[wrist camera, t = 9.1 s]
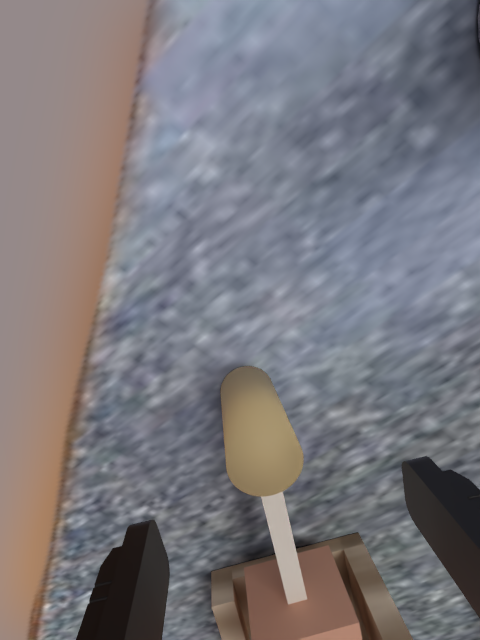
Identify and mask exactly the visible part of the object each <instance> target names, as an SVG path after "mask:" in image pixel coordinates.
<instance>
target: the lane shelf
mask: <svg viewBox="0 0 480 640" xmlns="http://www.w3.org/2000/svg"><path fill="white" fill-rule="evenodd" d="M327 545H329V547H330V550H331V552H332V555H333V557H334V560H335V563H336V565H337V568H338V570H339V573H340V575H341V578H342V580H343V583H344V585H345V588H346V590H347V593H348V595H349V598H350V601H351V603H352V606H353V608H354V611H355V613H356V616H357V618H358V621H359V624H360V630H361V635H362V640H413V638H412V637H411V635H410V633H409V631H408V629H407V627H406V625H405V623H404V621H403V619H402V617H401V615H400V613H399V611H398V609H397V607H396V605H395V603H394V601H393V599H392V598H391V596H390V594H389V592H388V590H387V588H386V586H385V584H384V582H383V580H382V578H381V576H380V574H379V572H378V570H377V568H376V566H375V564H374V562H373V560H372V559H371V557H370V555H369V553H368V551H367V549H366V547H365V545H364V543H363V541H362V539H361V537H360V535H359V533H354V534H350V535H346V536H343V537H339V538H335V539H331V540H327V541H324V542H320V543H316V544H312V545H309V546H305V547H301V548H297V549H296V552H297V553H301V552H304V551H308V550H312V549H316V548H319V547H323V546H327ZM274 559H277V558H276V554H275V555H271V556H267V557H264V558H260V559H256V560H252V561H249V562H245V563H241V564H237V565H233V566H230V567H226V568H222V569H218V570H215V571H211V602H212V610H213V613H214V616H215V619H216V623H217V626H218V629H219V632H220V635H221V638H222V640H252V638H251V629H250V620H249V610H248V601H247V592H246V583H245V573H244V567H248V566H252V565H256V564H259V563H263V562H267V561H271V560H274Z"/></svg>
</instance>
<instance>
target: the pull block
mask: <svg viewBox="0 0 480 640" xmlns="http://www.w3.org/2000/svg"><path fill="white" fill-rule="evenodd" d="M220 393H221V406H222V419H223V432H224V444H225V457H226V469H227V473H228V476H229V478H230V480H231V482H232V483H233V484H234V485H235V486H236V487H237V488H238V489H239V490H241V491H242V492H244V493H246V494H249V495H253V496H261V498H262V502H263V506H264V510H265V514H266V518H267V522H268V526H269V530H270V534H271V538H272V542H273V546H274V550H275V554H276V558H277V559H274V560H271V561H267V562H263V563H259V564H256V565H252V566H248V567H244V573H245V583H246V592H247V601H248V610H249V620H250V629H251V638H252V640H362V635H361V630H360V624H359V621H358V618H357V616H356V613H355V611H354V608H353V606H352V603H351V601H350V598H349V595H348V593H347V590H346V588H345V585H344V583H343V580H342V578H341V575H340V573H339V570H338V568H337V565H336V563H335V560H334V557H333V555H332V552H331V550H330V547H329V545H327V546H323V547H319V548H316V549H312V550H308V551H304V552H301V553H297V552H296V548H295V543H294V539H293V535H292V530H291V526H290V521H289V517H288V513H287V508H286V504H285V500H284V495H283V491H284V490H286V489H287V488H289V487H290V486H291V485H292V484H293V483H294V482H295V481H296V480H297V478H298V476H299V475H300V473H301V470H302V467H303V452H302V449H301V446H300V444H299V442H298V440H297V437H296V435H295V433H294V431H293V428H292V426H291V424H290V422H289V420H288V417H287V415H286V413H285V411H284V408H283V406H282V404H281V402H280V399H279V397H278V395H277V393H276V390H275V388H274V386H273V384H272V381H271V379H270V378H269V376H268V375H267V374H266V373H265V372H264V371H263V370H261V369H259V368H256V367H252V366H243V367H239V368H237V369H234V370H233V371H231V372H230V373H229V374H228V375H227V376H226V377H225V378H224V380H223V382H222V385H221V390H220Z"/></svg>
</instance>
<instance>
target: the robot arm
mask: <svg viewBox="0 0 480 640" xmlns="http://www.w3.org/2000/svg"><path fill="white" fill-rule="evenodd" d="M478 33H479V43H480V6H479V14H478ZM402 473H403V483H404V492H405V501H406V505H407V508H408V511H409V513H410V516H411V518H412V520H413V521H414V523H415V525H416V526H417V527H418V529H419V530H420V532H421V533H422V535H423V536H424V538H425V539H426V541H427V542H428V543H429V545H430V546H431V548H432V549H433V551H434V552H435V554H436V555H437V557H438V558H439V559H440V561H441V562H442V564H443V565H444V567H445V568H446V570H447V571H448V573H449V574H450V576H451V577H452V578H453V580H454V581H455V583H456V584H457V586H458V587H459V589H460V590H461V592H462V593H463V594H464V596H465V597H466V599H467V600H468V602H469V603H470V605H471V606H472V608H473V609H474V610H475V612H476V613H477V615H478V616H479V618H480V490H479V489H478V488H477V487H476V486H475V485H474V484H473V483H472V482H471V481H470V480H469V479H467V478H465V477H464V476H462V475H460V474H458V473H456V472H454V471H453V470H447V471H442V470H441V469H440V468H439V467H438V466H437V465H436V464H435V463H434V462H433V461H432V460H431V459H430V458H429V457H427V456H425V457H421V458H416V459H412V460H408V461H404V462H403V463H402ZM169 576H170V572H169V561H168V557H167V553H166V550H165V548H164V545H163V542H162V539H161V536H160V533H159V530H158V527H157V524H156V522H155V521H154V520H149V521H145V522H141V523H136V524H132V525H129V527H128V528H127V531H126V535H125V538H124V542H123V545H122V546H120V547H116V548H113V549H112V551H111V552H110V553H109V555H108V556H107V558H106V559H105V561H104V562H103V564H102V565H101V567H100V570H99V573H98V576H97V579H96V582H95V588H93V591H92V594H91V597H90V600H89V601H90V603H89V604H88V606H87V609H86V612H85V615H84V618H83V621H82V624H81V626H80V629H79V632H78V635H77V638H76V640H162V633H163V625H164V617H165V610H166V602H167V594H168V586H169Z"/></svg>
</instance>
